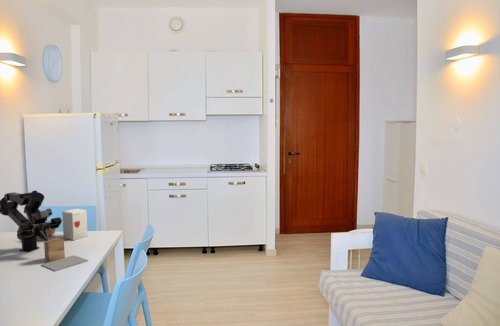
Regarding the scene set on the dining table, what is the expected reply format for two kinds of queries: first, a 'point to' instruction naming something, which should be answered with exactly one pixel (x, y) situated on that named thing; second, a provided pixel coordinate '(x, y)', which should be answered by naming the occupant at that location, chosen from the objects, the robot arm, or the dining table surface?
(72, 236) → the supplement box
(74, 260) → the mat
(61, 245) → the walnut block
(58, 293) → the dining table surface
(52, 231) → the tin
